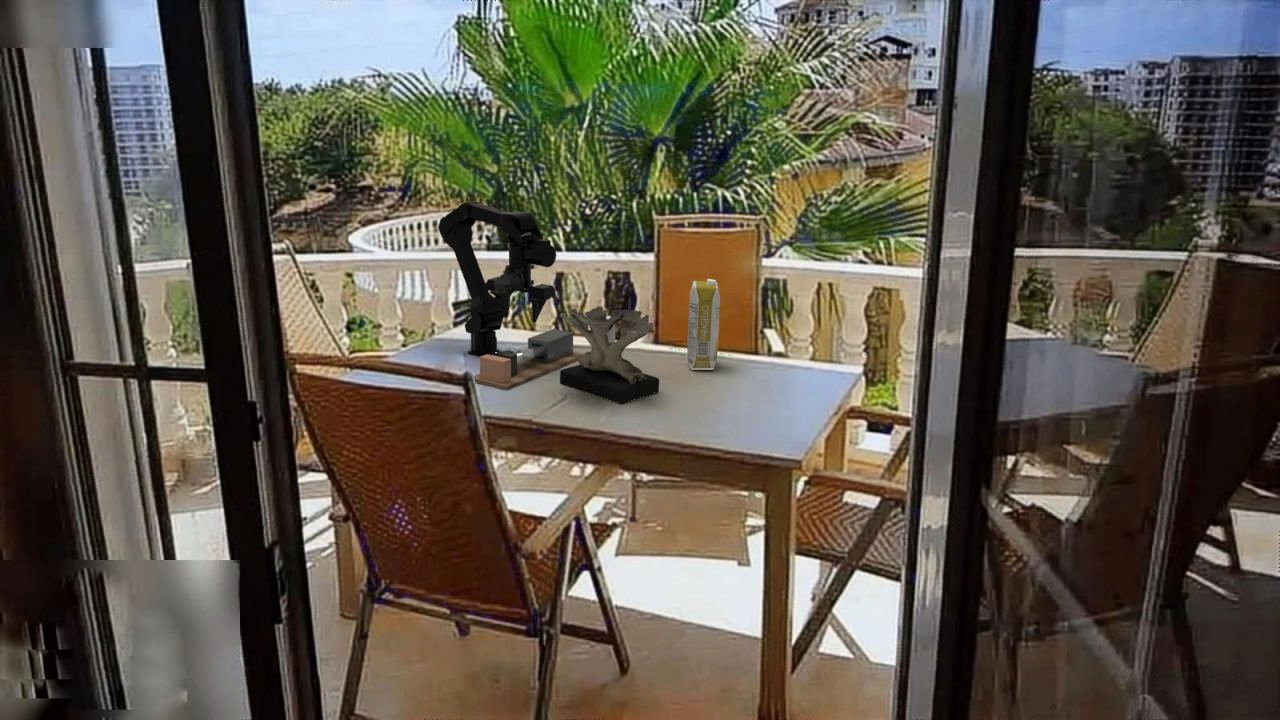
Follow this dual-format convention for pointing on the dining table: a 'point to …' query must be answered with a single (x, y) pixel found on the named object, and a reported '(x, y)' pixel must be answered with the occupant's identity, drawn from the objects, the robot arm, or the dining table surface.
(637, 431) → the dining table surface
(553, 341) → the sleeve
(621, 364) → the coral
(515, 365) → the steel tube
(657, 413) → the dining table surface
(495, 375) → the reddish brown block
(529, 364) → the walnut board
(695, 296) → the juice carton
